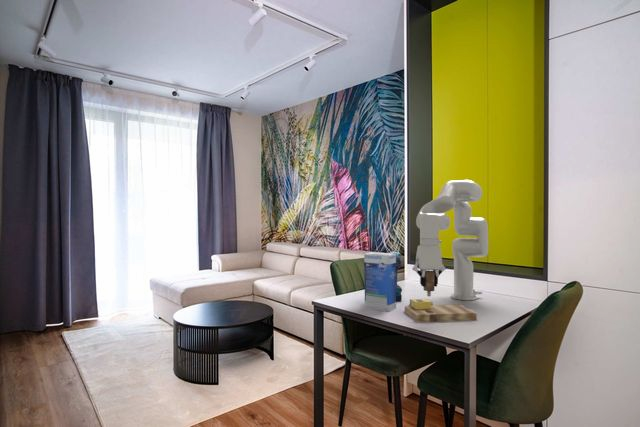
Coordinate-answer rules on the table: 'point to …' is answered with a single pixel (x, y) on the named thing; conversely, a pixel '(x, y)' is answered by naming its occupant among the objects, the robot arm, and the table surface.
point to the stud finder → (421, 304)
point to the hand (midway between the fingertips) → (429, 285)
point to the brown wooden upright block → (429, 281)
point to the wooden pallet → (441, 313)
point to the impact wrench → (398, 264)
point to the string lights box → (380, 281)
